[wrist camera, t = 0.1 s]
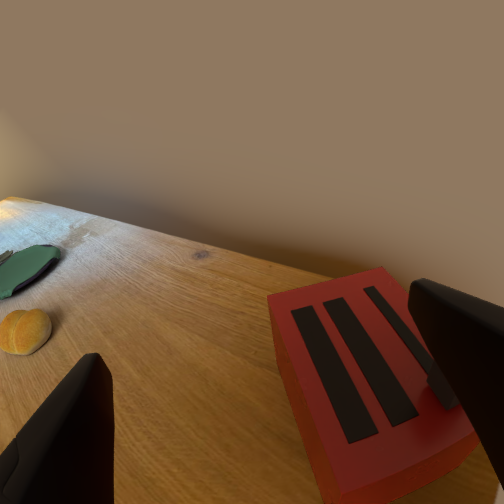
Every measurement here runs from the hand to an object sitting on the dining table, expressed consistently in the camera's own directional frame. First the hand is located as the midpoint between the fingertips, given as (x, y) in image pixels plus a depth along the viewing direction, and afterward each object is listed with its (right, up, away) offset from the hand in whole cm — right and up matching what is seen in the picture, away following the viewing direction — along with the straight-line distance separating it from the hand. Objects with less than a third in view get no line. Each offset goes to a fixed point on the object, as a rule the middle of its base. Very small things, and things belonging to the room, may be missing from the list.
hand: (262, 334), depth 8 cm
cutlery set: (-52, -3, +47) cm, 70 cm away
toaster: (+8, -11, +14) cm, 19 cm away
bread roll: (-31, -10, +27) cm, 43 cm away
